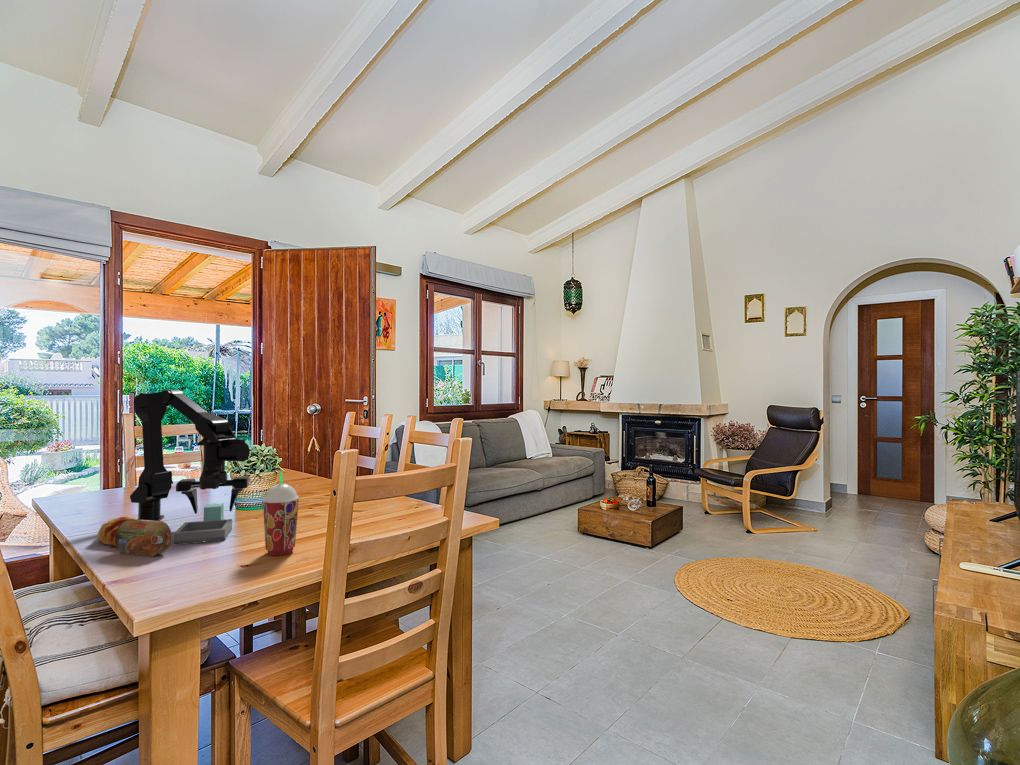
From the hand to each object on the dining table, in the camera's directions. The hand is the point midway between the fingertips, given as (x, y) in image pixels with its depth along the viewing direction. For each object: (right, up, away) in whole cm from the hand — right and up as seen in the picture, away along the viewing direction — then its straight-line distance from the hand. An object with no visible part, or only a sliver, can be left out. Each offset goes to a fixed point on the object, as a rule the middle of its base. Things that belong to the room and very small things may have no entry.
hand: (213, 512), depth 156 cm
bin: (+5, -4, -12) cm, 14 cm away
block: (0, -4, 0) cm, 4 cm away
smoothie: (+32, -4, -26) cm, 41 cm away
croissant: (-16, -4, -16) cm, 23 cm away
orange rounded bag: (-2, -4, -27) cm, 28 cm away
